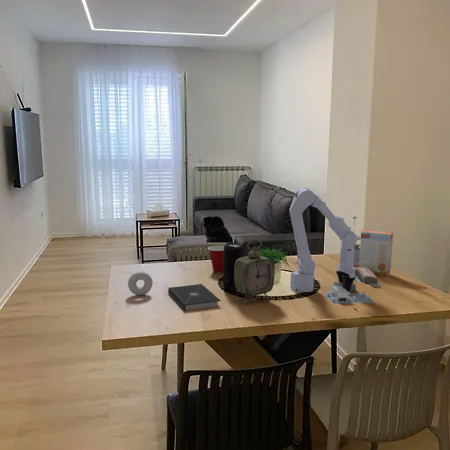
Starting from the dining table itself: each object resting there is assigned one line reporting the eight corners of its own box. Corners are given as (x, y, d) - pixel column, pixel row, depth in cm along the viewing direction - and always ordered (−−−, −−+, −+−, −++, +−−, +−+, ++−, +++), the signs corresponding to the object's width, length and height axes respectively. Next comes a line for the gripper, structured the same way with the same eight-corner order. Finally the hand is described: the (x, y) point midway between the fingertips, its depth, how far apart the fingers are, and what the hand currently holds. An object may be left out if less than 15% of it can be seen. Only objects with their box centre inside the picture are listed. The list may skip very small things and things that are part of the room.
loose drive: (355, 293, 201) (356, 284, 200) (337, 294, 200) (337, 285, 199) (351, 290, 205) (352, 281, 204) (333, 290, 204) (334, 281, 203)
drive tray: (333, 306, 185) (333, 299, 185) (323, 296, 196) (324, 290, 196) (374, 305, 188) (375, 298, 187) (363, 295, 198) (363, 289, 198)
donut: (152, 292, 197) (151, 269, 196) (153, 295, 194) (153, 272, 192) (127, 294, 195) (127, 271, 193) (128, 297, 192) (127, 273, 190)
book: (168, 294, 197) (167, 287, 197) (201, 290, 203) (201, 283, 203) (184, 312, 178) (184, 304, 177) (220, 307, 184) (220, 300, 183)
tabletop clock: (243, 306, 184) (245, 243, 179) (231, 299, 191) (232, 238, 187) (273, 300, 191) (275, 239, 187) (260, 293, 199) (262, 235, 194)
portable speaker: (229, 292, 199) (229, 247, 196) (218, 286, 207) (219, 242, 204) (246, 290, 203) (247, 245, 199) (236, 283, 211) (236, 241, 208)
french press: (342, 264, 246) (345, 217, 241) (341, 259, 257) (344, 213, 253) (362, 265, 244) (365, 218, 240) (359, 260, 256) (363, 214, 251)
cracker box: (390, 274, 230) (393, 232, 226) (387, 277, 225) (390, 234, 221) (361, 270, 237) (364, 229, 233) (357, 272, 232) (360, 230, 228)
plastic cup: (216, 266, 239) (216, 243, 236) (234, 270, 232) (234, 246, 230) (203, 271, 230) (203, 247, 228) (221, 275, 224) (221, 250, 221)
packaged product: (350, 265, 228) (371, 266, 228) (350, 275, 229) (370, 276, 228) (359, 276, 210) (382, 277, 210) (359, 287, 211) (381, 287, 211)
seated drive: (337, 302, 187) (337, 292, 186) (330, 295, 195) (330, 285, 194) (348, 301, 187) (348, 291, 187) (340, 294, 195) (341, 285, 194)
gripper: (362, 262, 193) (360, 294, 196) (349, 253, 207) (347, 283, 210) (346, 263, 192) (344, 295, 195) (333, 254, 206) (331, 284, 209)
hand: (344, 289), depth 202 cm, fingers closed on loose drive, 4 cm apart
